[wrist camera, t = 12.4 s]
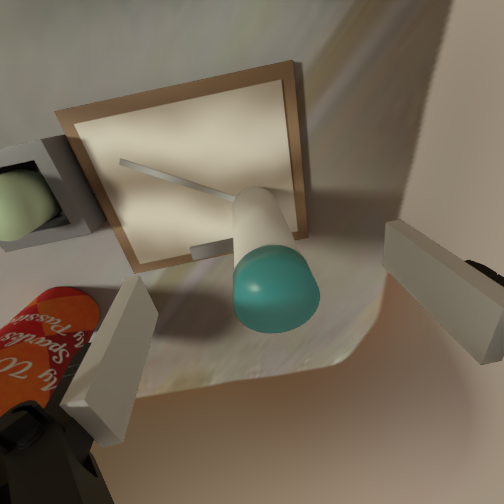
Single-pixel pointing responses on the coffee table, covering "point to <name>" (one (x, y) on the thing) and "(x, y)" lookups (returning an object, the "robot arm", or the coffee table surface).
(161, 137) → the drawing board
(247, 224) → the marker
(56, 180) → the button housing
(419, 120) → the coffee table surface
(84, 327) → the coffee cup
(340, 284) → the coffee table surface
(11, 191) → the button
